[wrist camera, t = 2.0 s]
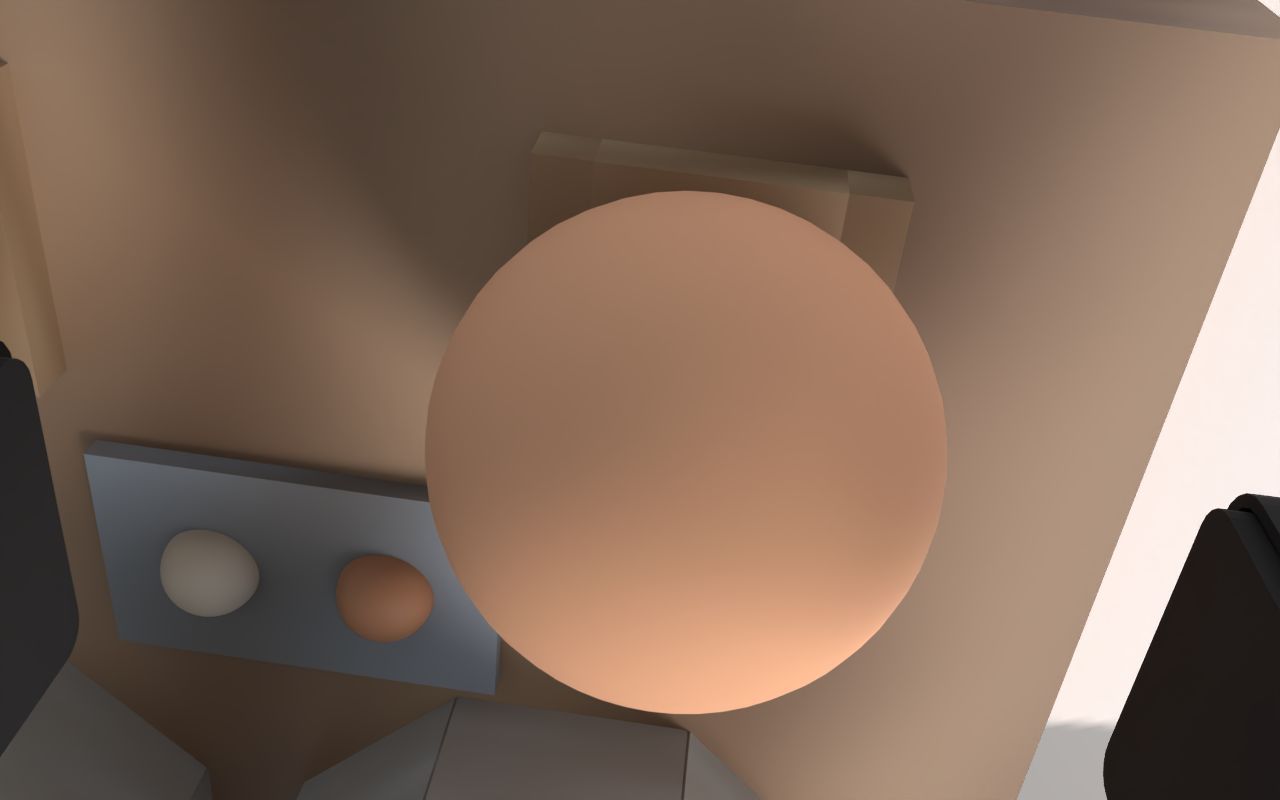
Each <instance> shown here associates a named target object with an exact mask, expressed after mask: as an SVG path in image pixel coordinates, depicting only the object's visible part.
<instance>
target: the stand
mask: <svg viewBox="0 0 1280 800" xmlns="http://www.w3.org/2000/svg"><path fill="white" fill-rule="evenodd" d="M1279 128H1280V17H1278V16H1277V15H1276V14H1275V13H1273V12H1272V11H1271V10H1269V9H1268V8H1267V7H1266V6H1264V5H1263V4H1262V3H1261V2H1259V1H1258V0H0V341H2V342H4V344H5V345H6V347H7V348H8V349H9V351H10V353H11V356H12V358H15V359H19V360H21V361H23V362H24V363H25V364H26V365H27V367H28V368H29V370H30V373H31V377H32V380H33V385H34V390H35V395H36V400H37V405H38V410H39V415H40V420H41V425H42V430H43V435H44V440H45V445H46V450H47V455H48V461H49V466H50V471H51V476H52V481H53V486H54V491H55V496H56V501H57V506H58V511H59V516H60V521H61V526H62V531H63V536H64V541H65V546H66V551H67V556H68V561H69V566H70V571H71V576H72V581H73V586H74V591H75V596H76V601H77V606H78V611H79V630H78V635H77V639H76V643H75V645H74V648H73V651H72V653H71V654H70V656H69V658H68V660H67V661H66V663H65V664H64V666H63V667H62V669H61V670H60V672H59V673H58V674H57V676H56V677H55V679H54V680H53V682H52V683H51V685H50V686H49V687H48V689H47V690H46V692H45V693H44V695H43V696H42V698H41V699H40V700H39V702H38V703H37V705H36V706H35V708H34V709H33V711H32V712H31V713H30V715H29V716H28V718H27V719H26V721H25V722H24V724H23V725H22V727H21V728H20V729H19V731H18V732H17V734H16V735H15V737H14V738H13V740H12V741H11V742H10V744H9V745H8V747H7V748H6V750H5V751H4V753H3V754H2V755H1V757H0V800H1016V799H1017V797H1018V794H1019V792H1020V789H1021V787H1022V784H1023V782H1024V779H1025V776H1026V774H1027V771H1028V769H1029V766H1030V764H1031V761H1032V758H1033V756H1034V754H1035V751H1036V748H1037V746H1038V743H1039V741H1040V738H1041V736H1042V733H1043V731H1044V728H1045V726H1046V723H1047V720H1048V718H1049V715H1050V713H1051V710H1052V708H1053V705H1054V703H1055V700H1056V697H1057V695H1058V692H1059V690H1060V687H1061V685H1062V682H1063V680H1064V677H1065V674H1066V672H1067V669H1068V667H1069V664H1070V662H1071V659H1072V657H1073V654H1074V651H1075V649H1076V646H1077V644H1078V641H1079V639H1080V636H1081V634H1082V631H1083V629H1084V626H1085V623H1086V621H1087V618H1088V616H1089V613H1090V611H1091V608H1092V606H1093V603H1094V600H1095V598H1096V595H1097V593H1098V590H1099V588H1100V585H1101V583H1102V580H1103V577H1104V575H1105V572H1106V570H1107V567H1108V565H1109V562H1110V560H1111V557H1112V554H1113V552H1114V549H1115V547H1116V544H1117V542H1118V539H1119V537H1120V534H1121V532H1122V529H1123V526H1124V524H1125V521H1126V519H1127V516H1128V514H1129V511H1130V509H1131V506H1132V503H1133V501H1134V498H1135V496H1136V493H1137V491H1138V488H1139V486H1140V483H1141V480H1142V478H1143V475H1144V473H1145V470H1146V468H1147V465H1148V463H1149V460H1150V457H1151V455H1152V452H1153V450H1154V447H1155V445H1156V442H1157V440H1158V437H1159V434H1160V432H1161V429H1162V427H1163V424H1164V422H1165V419H1166V417H1167V414H1168V412H1169V409H1170V406H1171V404H1172V401H1173V399H1174V396H1175V394H1176V391H1177V389H1178V386H1179V383H1180V381H1181V378H1182V376H1183V373H1184V371H1185V368H1186V366H1187V363H1188V360H1189V358H1190V355H1191V353H1192V350H1193V348H1194V345H1195V343H1196V340H1197V337H1198V335H1199V332H1200V330H1201V327H1202V325H1203V322H1204V320H1205V317H1206V315H1207V312H1208V309H1209V307H1210V304H1211V302H1212V299H1213V297H1214V294H1215V292H1216V289H1217V286H1218V284H1219V281H1220V279H1221V276H1222V274H1223V271H1224V269H1225V266H1226V263H1227V261H1228V258H1229V256H1230V253H1231V251H1232V248H1233V246H1234V243H1235V240H1236V238H1237V235H1238V233H1239V230H1240V228H1241V225H1242V223H1243V220H1244V217H1245V215H1246V212H1247V210H1248V207H1249V205H1250V202H1251V200H1252V197H1253V195H1254V192H1255V189H1256V187H1257V184H1258V182H1259V179H1260V177H1261V174H1262V172H1263V169H1264V166H1265V164H1266V161H1267V159H1268V156H1269V154H1270V151H1271V149H1272V146H1273V143H1274V141H1275V138H1276V136H1277V133H1278V131H1279ZM672 191H700V192H715V193H723V194H728V195H733V196H739V197H744V198H749V199H753V200H756V201H759V202H762V203H765V204H768V205H771V206H774V207H778V208H781V209H783V210H785V211H787V212H789V213H791V214H794V215H796V216H798V217H800V218H802V219H804V220H806V221H809V222H810V223H812V224H813V225H815V226H817V227H818V228H820V229H821V230H823V231H825V232H826V233H828V234H829V235H831V236H832V237H834V238H836V239H837V240H838V241H840V242H841V243H843V244H844V245H845V246H847V247H848V248H849V249H850V250H851V251H853V252H854V253H855V254H856V255H857V256H858V257H860V258H861V259H862V260H863V261H864V262H866V263H867V264H868V265H869V266H870V267H871V268H872V269H873V270H874V272H875V273H876V274H877V275H878V276H879V277H880V278H881V279H882V280H883V282H884V283H885V284H886V285H887V286H888V287H889V288H890V290H891V291H892V293H893V294H894V296H895V297H896V298H897V300H898V301H899V303H900V304H901V306H902V307H903V309H904V310H905V312H906V313H907V315H908V316H909V318H910V319H911V321H912V322H913V324H914V325H915V327H916V329H917V331H918V333H919V335H920V337H921V339H922V342H923V344H924V346H925V348H926V350H927V352H928V354H929V357H930V360H931V363H932V367H933V370H934V373H935V376H936V380H937V383H938V386H939V390H940V393H941V396H942V400H943V407H944V415H945V423H946V432H947V447H948V453H947V479H946V484H945V490H944V496H943V501H942V506H941V511H940V516H939V522H938V526H937V529H936V531H935V534H934V537H933V539H932V542H931V545H930V547H929V550H928V552H927V555H926V557H925V560H924V562H923V564H922V567H921V569H920V571H919V573H918V575H917V576H916V578H915V580H914V582H913V583H912V585H911V587H910V589H909V590H908V592H907V594H906V595H905V597H904V598H903V599H902V601H901V602H900V603H899V605H898V606H897V607H896V609H895V610H894V611H893V613H892V614H891V615H890V616H889V618H888V619H887V620H886V622H885V623H884V624H883V625H882V627H881V628H880V629H879V630H878V631H877V632H876V633H875V634H874V635H873V636H872V637H871V638H870V639H869V640H868V641H867V642H866V643H865V644H864V645H863V646H862V647H861V648H860V649H858V650H857V651H856V652H855V653H853V654H852V655H851V656H850V657H848V658H847V659H846V660H844V661H843V662H842V663H840V664H839V665H838V666H836V667H835V668H834V669H832V670H831V671H829V672H828V673H827V674H825V675H823V676H822V677H820V678H818V679H816V680H814V681H813V682H811V683H809V684H807V685H806V686H804V687H801V688H799V689H796V690H794V691H792V692H789V693H787V694H785V695H782V696H780V697H777V698H774V699H772V700H769V701H766V702H763V703H759V704H756V705H752V706H749V707H746V708H740V709H735V710H730V711H724V712H715V713H704V714H669V713H659V712H649V711H644V710H639V709H634V708H628V707H624V706H620V705H617V704H613V703H610V702H607V701H603V700H600V699H597V698H595V697H592V696H590V695H587V694H585V693H582V692H580V691H577V690H576V689H574V688H572V687H570V686H568V685H566V684H564V683H562V682H560V681H558V680H556V679H555V678H553V677H552V676H550V675H549V674H547V673H546V672H544V671H542V670H541V669H539V668H538V667H536V666H535V665H534V664H532V663H531V662H530V661H529V660H527V659H526V658H525V657H524V656H522V655H521V654H520V653H519V652H517V651H516V650H515V649H514V648H513V647H511V646H510V645H509V644H508V643H507V642H506V641H505V640H504V639H503V638H502V637H501V636H500V635H499V634H498V633H497V632H496V631H495V630H494V629H493V628H492V627H491V626H490V625H489V624H488V622H487V621H486V620H485V618H484V617H483V616H482V614H481V613H480V612H479V610H478V609H477V608H476V607H475V605H474V604H473V602H472V601H471V599H470V598H469V597H468V595H467V594H466V592H465V591H464V589H463V587H462V586H461V584H460V582H459V580H458V579H457V577H456V575H455V573H454V572H453V570H452V568H451V566H450V563H449V561H448V558H447V556H446V553H445V551H444V548H443V546H442V543H441V540H440V538H439V535H438V532H437V530H436V527H435V523H434V519H433V515H432V511H431V507H430V502H429V496H428V488H427V479H426V467H425V455H424V452H425V439H426V426H427V416H428V406H429V402H430V398H431V394H432V390H433V385H434V381H435V378H436V375H437V372H438V369H439V366H440V363H441V360H442V358H443V356H444V353H445V351H446V348H447V346H448V344H449V341H450V339H451V336H452V334H453V332H454V331H455V329H456V328H457V326H458V324H459V323H460V321H461V319H462V318H463V316H464V315H465V313H466V311H467V310H468V308H469V307H470V305H471V304H472V302H473V300H474V299H475V297H476V296H477V294H478V293H479V292H480V291H481V290H482V288H483V287H484V286H485V285H486V284H487V283H488V281H489V280H490V279H491V278H492V277H493V275H494V274H495V273H496V272H497V271H498V270H499V269H500V268H501V267H502V266H504V265H505V264H506V263H507V262H508V261H509V260H510V259H512V258H513V257H514V256H515V255H516V254H517V253H518V252H520V251H521V250H522V249H523V248H524V247H525V246H527V245H528V244H529V243H530V242H531V241H533V240H534V239H536V238H537V237H539V236H540V235H542V234H543V233H545V232H546V231H548V230H549V229H551V228H553V227H554V226H556V225H557V224H559V223H561V222H563V221H566V220H568V219H570V218H572V217H574V216H576V215H578V214H580V213H582V212H585V211H587V210H590V209H592V208H595V207H598V206H601V205H605V204H608V203H611V202H614V201H617V200H620V199H623V198H628V197H633V196H639V195H644V194H650V193H655V192H672Z"/></svg>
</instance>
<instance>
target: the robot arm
mask: <svg viewBox="0 0 1280 800" xmlns="http://www.w3.org/2000/svg"><path fill="white" fill-rule="evenodd" d="M78 630H79V611H78V606H77V601H76V596H75V591H74V586H73V581H72V576H71V571H70V566H69V561H68V556H67V551H66V546H65V541H64V536H63V531H62V526H61V521H60V516H59V511H58V506H57V501H56V496H55V491H54V486H53V481H52V476H51V471H50V466H49V461H48V455H47V450H46V445H45V440H44V435H43V430H42V425H41V420H40V415H39V410H38V405H37V400H36V395H35V390H34V385H33V380H32V377H31V373H30V370H29V368H28V367H27V365H26V364H25V363H24V362H23V361H21V360H19V359H15V358H12V356H11V353H10V351H9V349H8V348H7V347H6V345H5V344H4V342H2V341H0V757H1V755H2V754H3V753H4V751H5V750H6V748H7V747H8V745H9V744H10V742H11V741H12V740H13V738H14V737H15V735H16V734H17V732H18V731H19V729H20V728H21V727H22V725H23V724H24V722H25V721H26V719H27V718H28V716H29V715H30V713H31V712H32V711H33V709H34V708H35V706H36V705H37V703H38V702H39V700H40V699H41V698H42V696H43V695H44V693H45V692H46V690H47V689H48V687H49V686H50V685H51V683H52V682H53V680H54V679H55V677H56V676H57V674H58V673H59V672H60V670H61V669H62V667H63V666H64V664H65V663H66V661H67V660H68V658H69V656H70V654H71V653H72V651H73V648H74V645H75V643H76V639H77V635H78ZM1103 777H1104V787H1105V792H1106V796H1107V800H1280V497H1272V496H1264V495H1256V494H1248V493H1246V494H1243V495H1240V496H1238V497H1237V498H1236V499H1235V500H1234V501H1233V502H1232V503H1231V504H1230V505H1229V507H1228V509H1219V508H1217V509H1214V510H1212V511H1211V512H1210V513H1209V514H1208V515H1206V517H1205V519H1204V521H1203V522H1202V524H1201V527H1200V529H1199V531H1198V534H1197V536H1196V538H1195V541H1194V543H1193V545H1192V548H1191V550H1190V552H1189V555H1188V557H1187V560H1186V562H1185V564H1184V567H1183V569H1182V571H1181V574H1180V576H1179V578H1178V581H1177V583H1176V585H1175V588H1174V590H1173V592H1172V595H1171V597H1170V600H1169V602H1168V604H1167V607H1166V609H1165V611H1164V614H1163V616H1162V618H1161V621H1160V623H1159V625H1158V628H1157V630H1156V632H1155V635H1154V637H1153V640H1152V642H1151V644H1150V647H1149V649H1148V651H1147V654H1146V656H1145V658H1144V661H1143V663H1142V665H1141V668H1140V670H1139V672H1138V675H1137V677H1136V680H1135V682H1134V684H1133V687H1132V689H1131V691H1130V694H1129V696H1128V698H1127V701H1126V703H1125V705H1124V708H1123V710H1122V712H1121V715H1120V717H1119V720H1118V722H1117V724H1116V727H1115V729H1114V731H1113V734H1112V736H1111V738H1110V741H1109V743H1108V746H1107V749H1106V753H1105V758H1104V769H1103Z"/></svg>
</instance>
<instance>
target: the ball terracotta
mask: <svg viewBox="0 0 1280 800" xmlns="http://www.w3.org/2000/svg"><path fill="white" fill-rule="evenodd" d="M947 453H948V447H947V432H946V423H945V415H944V407H943V400H942V396H941V393H940V390H939V386H938V383H937V380H936V376H935V373H934V370H933V367H932V363H931V360H930V357H929V354H928V352H927V350H926V348H925V346H924V344H923V342H922V339H921V337H920V335H919V333H918V331H917V329H916V327H915V325H914V324H913V322H912V321H911V319H910V318H909V316H908V315H907V313H906V312H905V310H904V309H903V307H902V306H901V304H900V303H899V301H898V300H897V298H896V297H895V296H894V294H893V293H892V291H891V290H890V288H889V287H888V286H887V285H886V284H885V283H884V282H883V280H882V279H881V278H880V277H879V276H878V275H877V274H876V273H875V272H874V270H873V269H872V268H871V267H870V266H869V265H868V264H867V263H866V262H864V261H863V260H862V259H861V258H860V257H858V256H857V255H856V254H855V253H854V252H853V251H851V250H850V249H849V248H848V247H847V246H845V245H844V244H843V243H841V242H840V241H838V240H837V239H836V238H834V237H832V236H831V235H829V234H828V233H826V232H825V231H823V230H821V229H820V228H818V227H817V226H815V225H813V224H812V223H810V222H809V221H806V220H804V219H802V218H800V217H798V216H796V215H794V214H791V213H789V212H787V211H785V210H783V209H781V208H778V207H774V206H771V205H768V204H765V203H762V202H759V201H756V200H753V199H749V198H744V197H739V196H733V195H728V194H723V193H715V192H700V191H672V192H655V193H650V194H644V195H639V196H633V197H628V198H623V199H620V200H617V201H614V202H611V203H608V204H605V205H601V206H598V207H595V208H592V209H590V210H587V211H585V212H582V213H580V214H578V215H576V216H574V217H572V218H570V219H568V220H566V221H563V222H561V223H559V224H557V225H556V226H554V227H553V228H551V229H549V230H548V231H546V232H545V233H543V234H542V235H540V236H539V237H537V238H536V239H534V240H533V241H531V242H530V243H529V244H528V245H527V246H525V247H524V248H523V249H522V250H521V251H520V252H518V253H517V254H516V255H515V256H514V257H513V258H512V259H510V260H509V261H508V262H507V263H506V264H505V265H504V266H502V267H501V268H500V269H499V270H498V271H497V272H496V273H495V274H494V275H493V277H492V278H491V279H490V280H489V281H488V283H487V284H486V285H485V286H484V287H483V288H482V290H481V291H480V292H479V293H478V294H477V296H476V297H475V299H474V300H473V302H472V304H471V305H470V307H469V308H468V310H467V311H466V313H465V315H464V316H463V318H462V319H461V321H460V323H459V324H458V326H457V328H456V329H455V331H454V332H453V334H452V336H451V339H450V341H449V344H448V346H447V348H446V351H445V353H444V356H443V358H442V360H441V363H440V366H439V369H438V372H437V375H436V378H435V381H434V385H433V390H432V394H431V398H430V402H429V406H428V416H427V426H426V439H425V452H424V455H425V467H426V479H427V488H428V496H429V502H430V507H431V511H432V515H433V519H434V523H435V527H436V530H437V532H438V535H439V538H440V540H441V543H442V546H443V548H444V551H445V553H446V556H447V558H448V561H449V563H450V566H451V568H452V570H453V572H454V573H455V575H456V577H457V579H458V580H459V582H460V584H461V586H462V587H463V589H464V591H465V592H466V594H467V595H468V597H469V598H470V599H471V601H472V602H473V604H474V605H475V607H476V608H477V609H478V610H479V612H480V613H481V614H482V616H483V617H484V618H485V620H486V621H487V622H488V624H489V625H490V626H491V627H492V628H493V629H494V630H495V631H496V632H497V633H498V634H499V635H500V636H501V637H502V638H503V639H504V640H505V641H506V642H507V643H508V644H509V645H510V646H511V647H513V648H514V649H515V650H516V651H517V652H519V653H520V654H521V655H522V656H524V657H525V658H526V659H527V660H529V661H530V662H531V663H532V664H534V665H535V666H536V667H538V668H539V669H541V670H542V671H544V672H546V673H547V674H549V675H550V676H552V677H553V678H555V679H556V680H558V681H560V682H562V683H564V684H566V685H568V686H570V687H572V688H574V689H576V690H577V691H580V692H582V693H585V694H587V695H590V696H592V697H595V698H597V699H600V700H603V701H607V702H610V703H613V704H617V705H620V706H624V707H628V708H634V709H639V710H644V711H649V712H659V713H669V714H704V713H715V712H724V711H730V710H735V709H740V708H746V707H749V706H752V705H756V704H759V703H763V702H766V701H769V700H772V699H774V698H777V697H780V696H782V695H785V694H787V693H789V692H792V691H794V690H796V689H799V688H801V687H804V686H806V685H807V684H809V683H811V682H813V681H814V680H816V679H818V678H820V677H822V676H823V675H825V674H827V673H828V672H829V671H831V670H832V669H834V668H835V667H836V666H838V665H839V664H840V663H842V662H843V661H844V660H846V659H847V658H848V657H850V656H851V655H852V654H853V653H855V652H856V651H857V650H858V649H860V648H861V647H862V646H863V645H864V644H865V643H866V642H867V641H868V640H869V639H870V638H871V637H872V636H873V635H874V634H875V633H876V632H877V631H878V630H879V629H880V628H881V627H882V625H883V624H884V623H885V622H886V620H887V619H888V618H889V616H890V615H891V614H892V613H893V611H894V610H895V609H896V607H897V606H898V605H899V603H900V602H901V601H902V599H903V598H904V597H905V595H906V594H907V592H908V590H909V589H910V587H911V585H912V583H913V582H914V580H915V578H916V576H917V575H918V573H919V571H920V569H921V567H922V564H923V562H924V560H925V557H926V555H927V552H928V550H929V547H930V545H931V542H932V539H933V537H934V534H935V531H936V529H937V526H938V522H939V516H940V511H941V506H942V501H943V496H944V490H945V484H946V479H947Z"/></svg>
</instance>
